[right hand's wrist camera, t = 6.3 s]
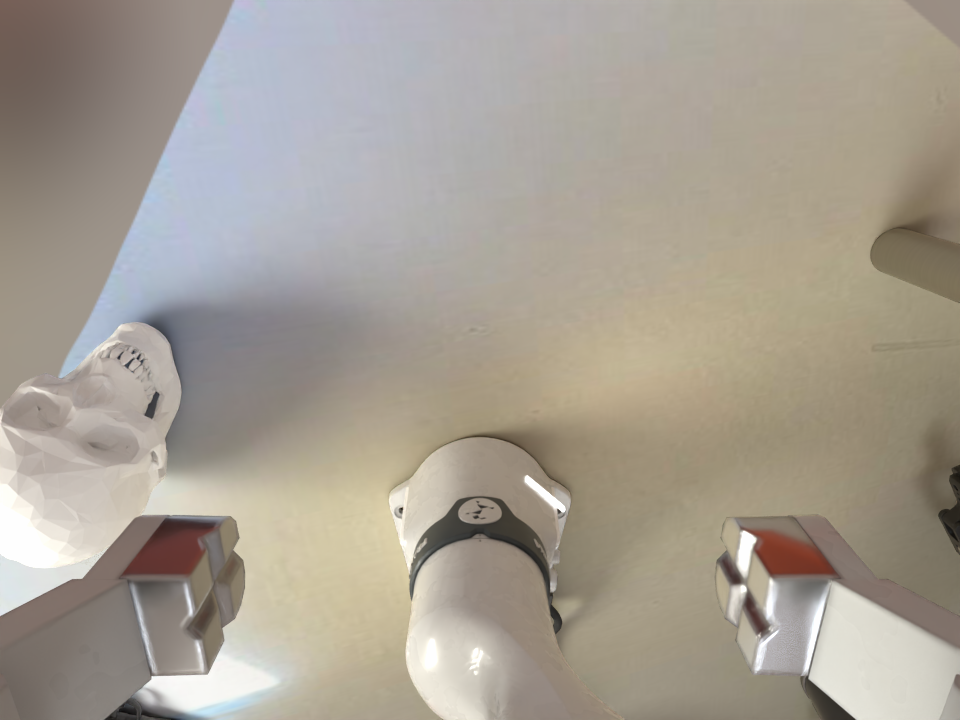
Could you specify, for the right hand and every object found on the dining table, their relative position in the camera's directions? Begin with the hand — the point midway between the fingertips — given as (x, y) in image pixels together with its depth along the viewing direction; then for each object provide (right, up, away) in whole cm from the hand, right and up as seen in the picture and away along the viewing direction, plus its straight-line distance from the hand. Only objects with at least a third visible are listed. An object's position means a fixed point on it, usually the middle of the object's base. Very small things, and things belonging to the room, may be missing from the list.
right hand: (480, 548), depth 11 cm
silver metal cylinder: (+37, +13, +46) cm, 61 cm away
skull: (-35, -2, +52) cm, 63 cm away
